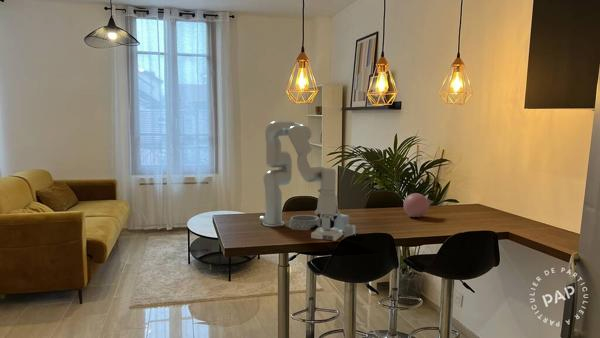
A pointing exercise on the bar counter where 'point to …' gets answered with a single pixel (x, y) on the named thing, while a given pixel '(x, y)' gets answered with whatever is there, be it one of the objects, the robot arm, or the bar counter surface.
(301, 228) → the dog bowl
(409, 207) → the piggy bank
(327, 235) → the scale
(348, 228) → the spacer
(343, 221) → the medicine box
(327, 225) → the grey block with knob
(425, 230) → the bar counter surface
